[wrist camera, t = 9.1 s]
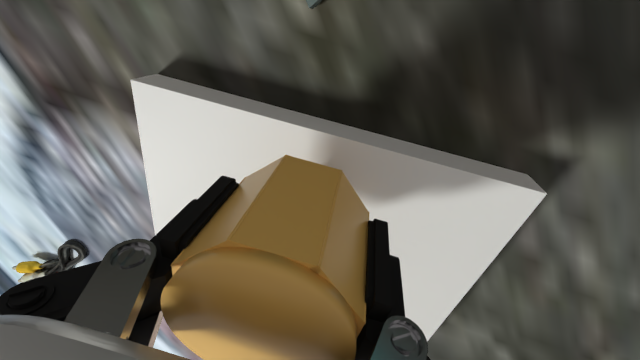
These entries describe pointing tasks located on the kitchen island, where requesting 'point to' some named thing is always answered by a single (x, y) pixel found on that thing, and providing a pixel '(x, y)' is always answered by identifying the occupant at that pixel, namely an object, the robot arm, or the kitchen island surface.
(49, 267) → the composite cable
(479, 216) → the plate
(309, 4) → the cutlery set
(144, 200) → the kitchen island surface
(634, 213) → the kitchen island surface
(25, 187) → the kitchen island surface
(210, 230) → the acorn cap nut
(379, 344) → the robot arm
